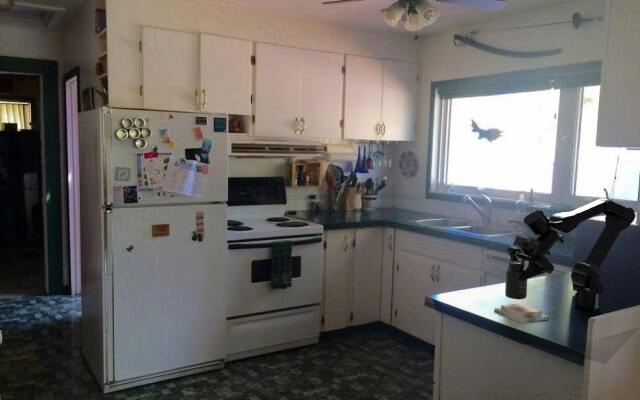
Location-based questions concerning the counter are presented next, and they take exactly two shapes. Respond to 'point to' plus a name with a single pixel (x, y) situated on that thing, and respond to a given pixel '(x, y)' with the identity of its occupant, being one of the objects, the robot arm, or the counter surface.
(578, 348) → the counter surface
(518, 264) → the supplement bottle
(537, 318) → the build base
